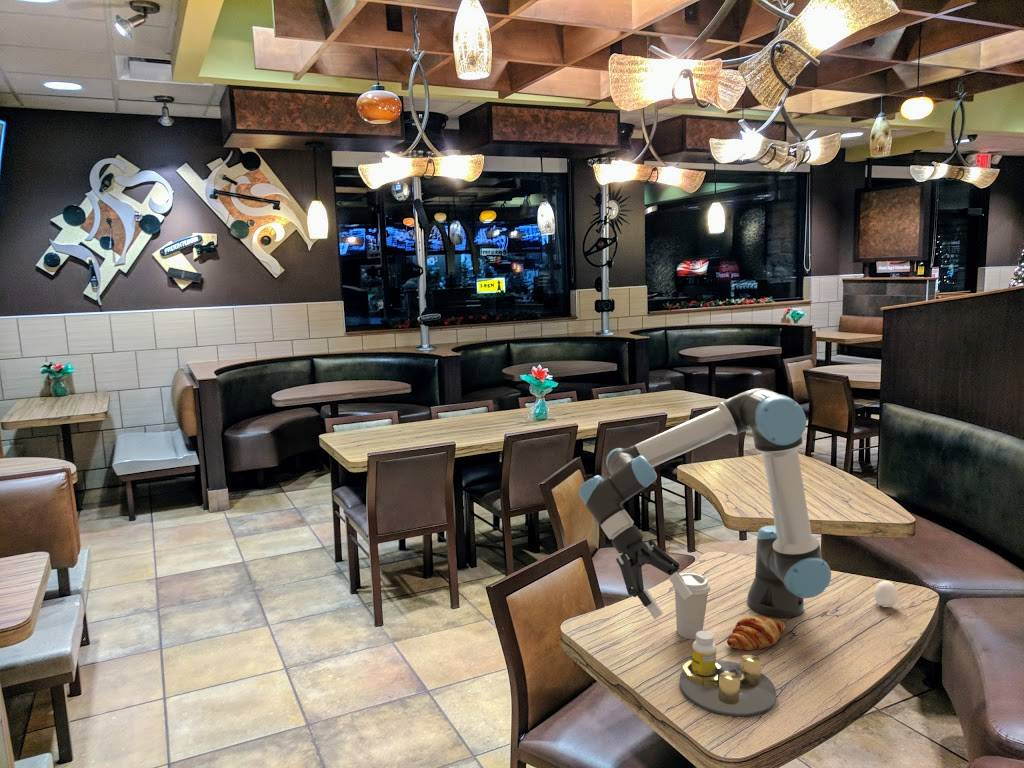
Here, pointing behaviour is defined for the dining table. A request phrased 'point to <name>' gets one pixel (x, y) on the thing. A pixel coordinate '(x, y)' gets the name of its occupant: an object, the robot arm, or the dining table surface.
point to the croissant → (755, 633)
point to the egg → (886, 594)
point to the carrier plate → (746, 695)
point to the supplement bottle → (704, 655)
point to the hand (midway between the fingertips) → (674, 606)
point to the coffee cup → (691, 606)
